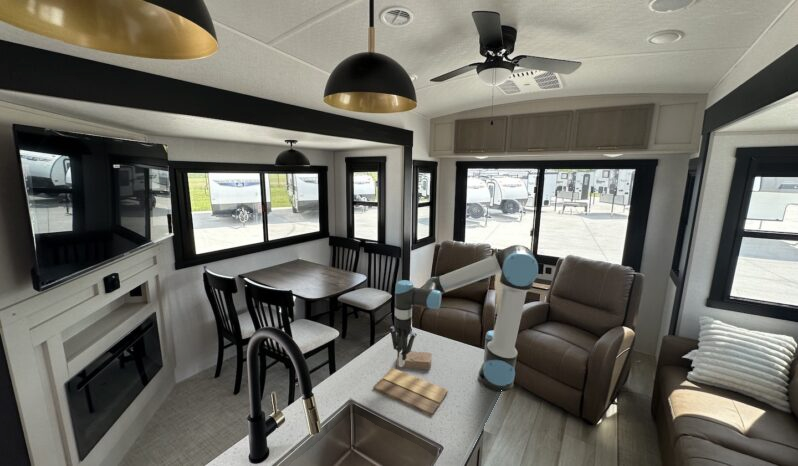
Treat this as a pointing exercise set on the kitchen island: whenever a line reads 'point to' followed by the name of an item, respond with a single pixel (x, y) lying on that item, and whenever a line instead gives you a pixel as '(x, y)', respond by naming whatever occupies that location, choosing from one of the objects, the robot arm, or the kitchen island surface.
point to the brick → (417, 360)
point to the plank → (416, 385)
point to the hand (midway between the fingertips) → (401, 365)
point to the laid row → (406, 397)
